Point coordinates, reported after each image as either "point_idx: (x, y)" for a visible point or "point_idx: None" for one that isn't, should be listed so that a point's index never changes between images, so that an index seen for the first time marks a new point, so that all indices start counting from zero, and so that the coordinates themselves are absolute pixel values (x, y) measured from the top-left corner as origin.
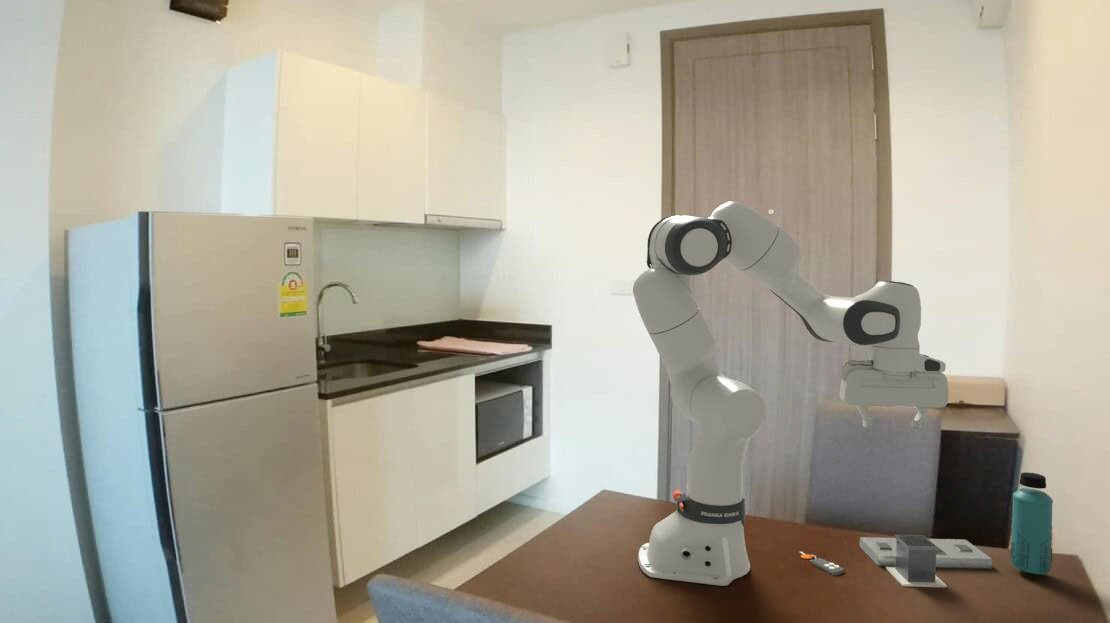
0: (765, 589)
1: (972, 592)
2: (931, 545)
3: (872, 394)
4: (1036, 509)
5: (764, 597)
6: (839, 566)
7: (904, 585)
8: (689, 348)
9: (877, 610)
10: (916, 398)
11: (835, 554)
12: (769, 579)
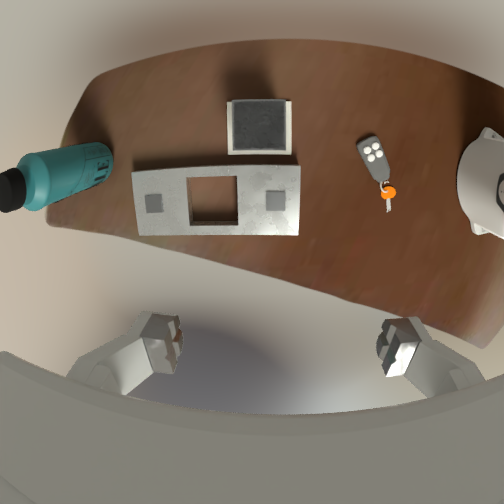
0: (455, 113)
1: (198, 93)
2: (239, 106)
3: (494, 449)
4: (42, 152)
5: (459, 97)
6: (364, 149)
7: (288, 101)
8: None
9: (351, 48)
10: (103, 449)
11: (345, 201)
12: (447, 134)
